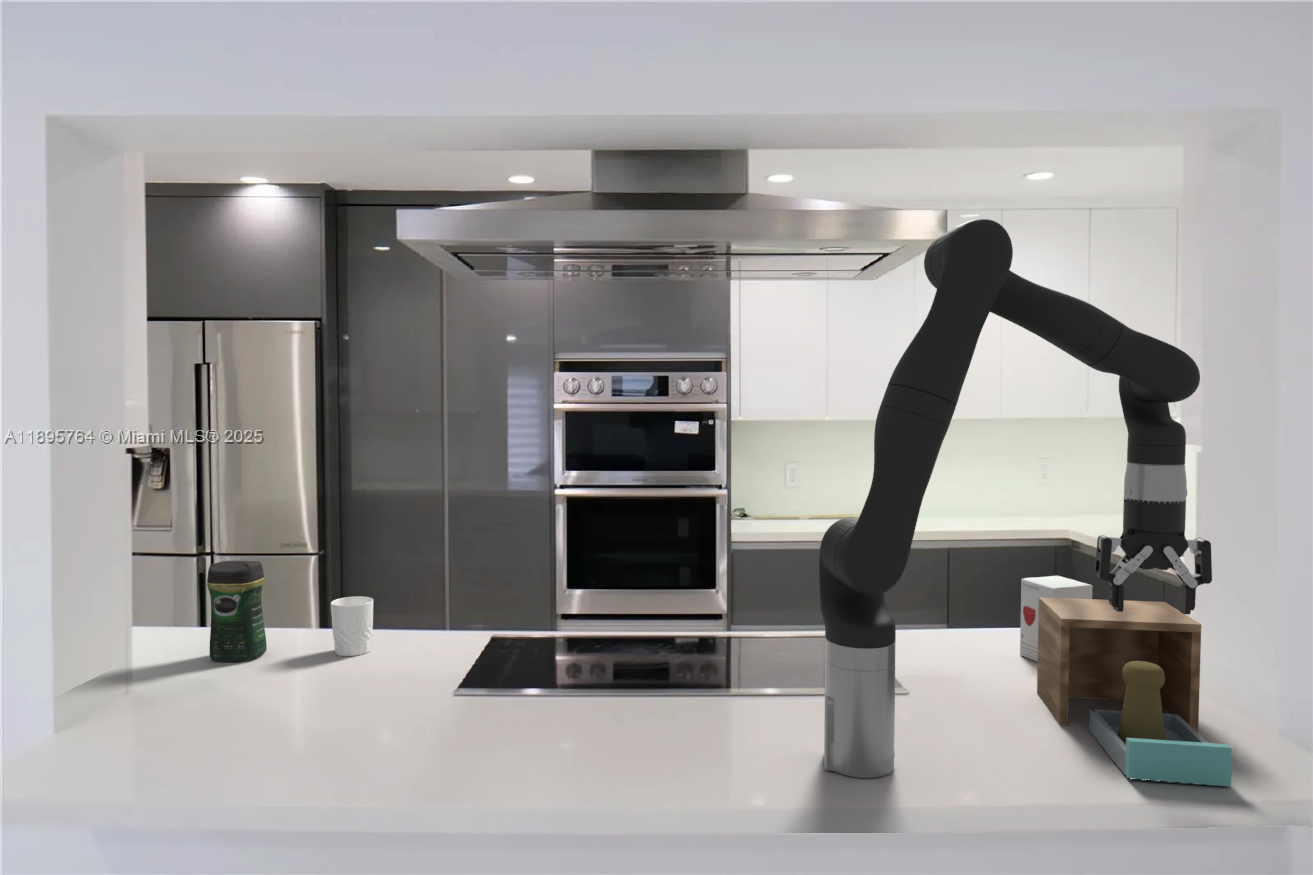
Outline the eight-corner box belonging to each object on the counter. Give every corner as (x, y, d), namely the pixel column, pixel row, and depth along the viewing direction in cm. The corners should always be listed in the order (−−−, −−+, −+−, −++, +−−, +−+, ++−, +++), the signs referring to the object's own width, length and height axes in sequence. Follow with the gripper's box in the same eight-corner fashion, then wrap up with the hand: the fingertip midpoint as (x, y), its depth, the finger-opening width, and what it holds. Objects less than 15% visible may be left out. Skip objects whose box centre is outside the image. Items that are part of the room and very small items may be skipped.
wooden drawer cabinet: (1059, 724, 133) (1061, 618, 132) (1036, 693, 147) (1038, 597, 146) (1198, 733, 130) (1201, 624, 129) (1162, 700, 143) (1164, 601, 143)
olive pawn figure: (1175, 748, 121) (1178, 669, 120) (1131, 748, 121) (1133, 670, 120) (1151, 731, 127) (1153, 656, 126) (1109, 731, 127) (1111, 656, 126)
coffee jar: (273, 651, 172) (270, 557, 171) (251, 663, 164) (248, 565, 163) (226, 650, 173) (223, 556, 172) (202, 662, 165) (199, 564, 164)
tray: (1128, 779, 114) (1129, 741, 113) (1088, 729, 131) (1089, 695, 130) (1230, 786, 111) (1231, 747, 111) (1176, 734, 128) (1177, 700, 128)
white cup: (361, 658, 167) (359, 606, 167) (323, 656, 169) (322, 604, 168) (382, 646, 175) (380, 597, 175) (346, 644, 177) (344, 595, 176)
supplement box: (1017, 655, 168) (1019, 577, 167) (1056, 650, 171) (1057, 574, 170) (1052, 669, 160) (1054, 587, 159) (1092, 664, 162) (1094, 584, 161)
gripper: (1199, 494, 124) (1195, 607, 125) (1091, 491, 127) (1088, 603, 127) (1223, 500, 117) (1219, 621, 118) (1107, 497, 119) (1104, 616, 120)
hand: (1150, 611), depth 122 cm, fingers open, 8 cm apart
